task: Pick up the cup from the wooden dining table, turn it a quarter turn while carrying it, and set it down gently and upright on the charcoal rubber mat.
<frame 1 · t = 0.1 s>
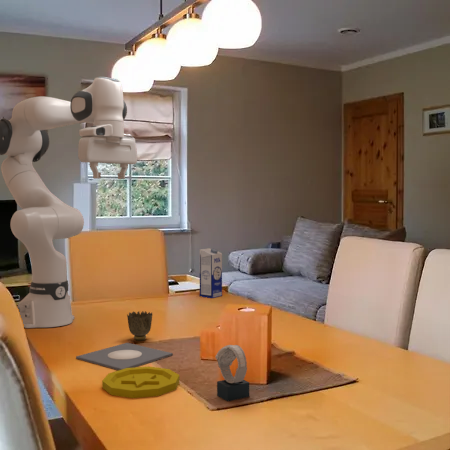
hand: (109, 178, 177), 48 cm above the table, tool pointing down, fingers open, 8 cm apart
decorative disc: (141, 387, 136), on the table
charcoal mat: (124, 356, 159), on the table
watch: (232, 396, 129), on the table
milk carton: (210, 296, 249), on the table
cup: (140, 340, 177), on the table
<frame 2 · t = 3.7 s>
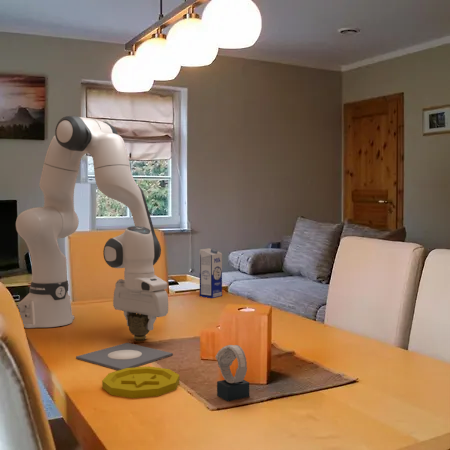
hand: (140, 327, 177), 4 cm above the table, tool pointing down, fingers closed on cup, 7 cm apart
cup: (140, 340, 177), on the table, touching gripper
everything else where it was.
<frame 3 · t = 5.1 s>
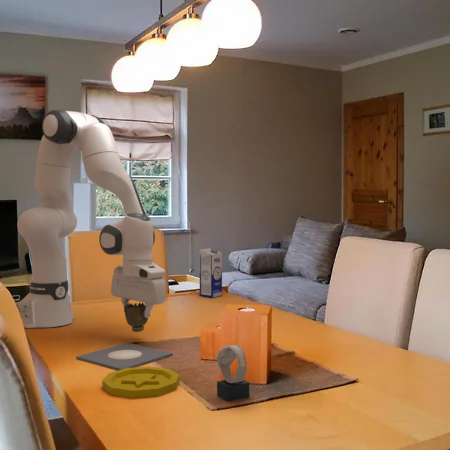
hand: (137, 315, 176), 7 cm above the table, tool pointing down, fingers closed on cup, 7 cm apart
cup: (138, 331, 177), point 3 cm above the table, touching gripper
everything else where it was.
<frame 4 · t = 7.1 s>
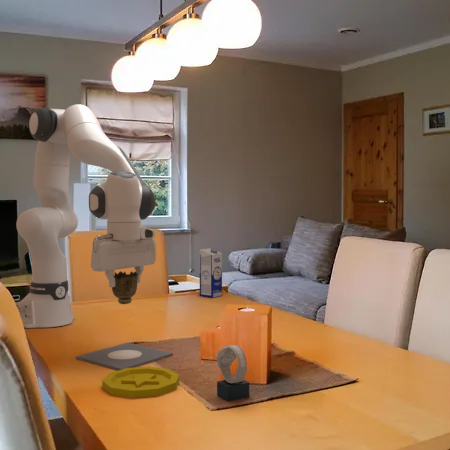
hand: (125, 284, 158), 19 cm above the table, tool pointing down, fingers closed on cup, 7 cm apart
cup: (125, 303, 158), point 14 cm above the table, touching gripper
everything else where it was.
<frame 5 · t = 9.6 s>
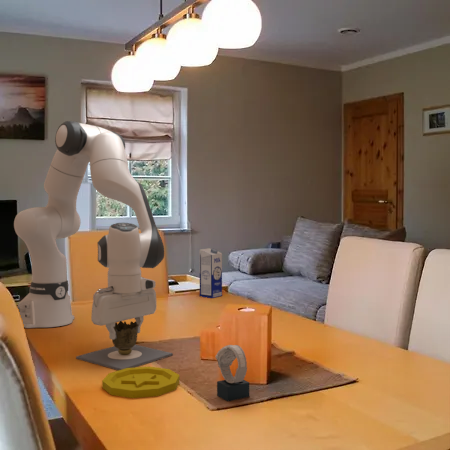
hand: (125, 335, 159), 6 cm above the table, tool pointing down, fingers closed on cup, 6 cm apart
cup: (125, 354, 159), point 1 cm above the table, touching charcoal mat, gripper
everything else where it was.
when the fingers open (6 cm above the table, at t = 10.0 s): cup stays where it is, resting on charcoal mat.
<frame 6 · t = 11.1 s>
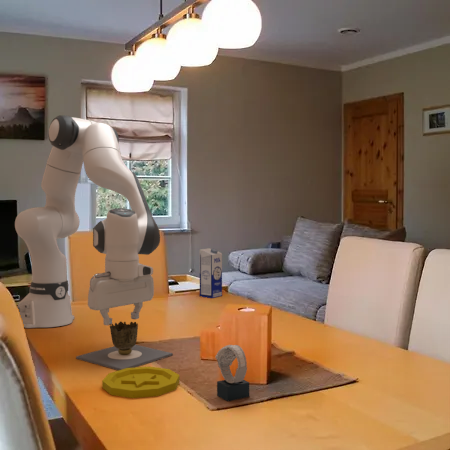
hand: (121, 321, 158), 10 cm above the table, tool pointing down, fingers open, 8 cm apart
cup: (125, 354, 159), point 1 cm above the table, touching charcoal mat
everything else where it was.
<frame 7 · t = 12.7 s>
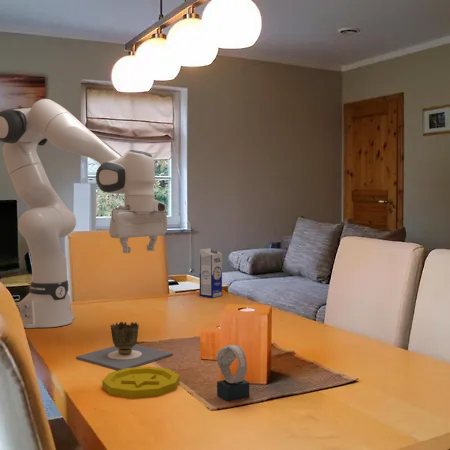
hand: (138, 251, 177), 26 cm above the table, tool pointing down, fingers open, 8 cm apart
nothing on the table moved.
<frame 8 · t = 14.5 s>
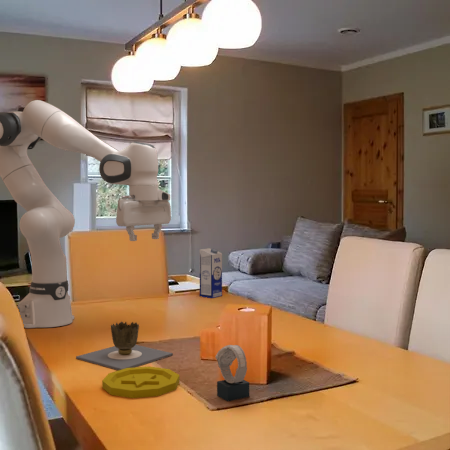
hand: (144, 239, 184), 29 cm above the table, tool pointing down, fingers open, 8 cm apart
nothing on the table moved.
at the end: cup inside the target area on the charcoal mat (0.4 cm from its centre), point 0.5 cm above the charcoal mat's base; cup tilted 1°; the gripper is holding nothing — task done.
